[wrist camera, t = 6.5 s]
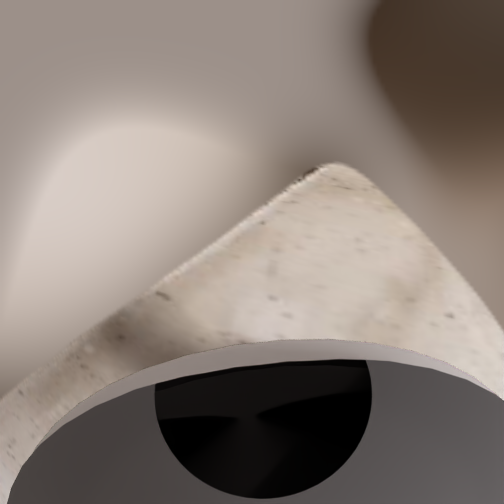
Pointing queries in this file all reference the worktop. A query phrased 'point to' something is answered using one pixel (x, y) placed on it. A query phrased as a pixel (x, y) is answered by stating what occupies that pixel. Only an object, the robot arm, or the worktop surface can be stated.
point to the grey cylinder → (278, 432)
